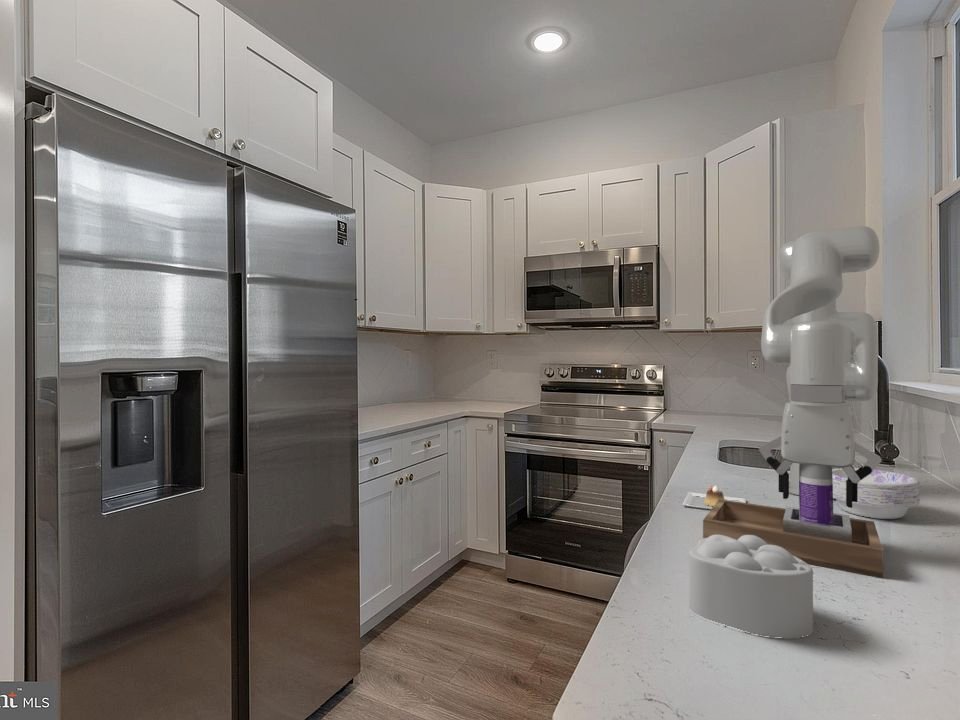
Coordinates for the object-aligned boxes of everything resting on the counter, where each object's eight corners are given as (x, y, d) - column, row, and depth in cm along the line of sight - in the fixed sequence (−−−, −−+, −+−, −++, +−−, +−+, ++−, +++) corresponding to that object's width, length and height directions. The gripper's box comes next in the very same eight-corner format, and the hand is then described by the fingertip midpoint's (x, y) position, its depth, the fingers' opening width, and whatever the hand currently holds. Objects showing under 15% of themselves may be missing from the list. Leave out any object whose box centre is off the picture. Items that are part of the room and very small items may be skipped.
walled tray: (719, 519, 99) (719, 499, 99) (873, 545, 85) (873, 521, 85) (703, 543, 86) (703, 520, 86) (882, 578, 72) (882, 550, 72)
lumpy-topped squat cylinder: (703, 585, 70) (703, 523, 70) (815, 613, 62) (816, 543, 62) (682, 615, 62) (683, 544, 62) (809, 652, 54) (809, 571, 54)
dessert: (688, 496, 118) (688, 476, 118) (746, 503, 112) (746, 482, 112) (682, 509, 107) (682, 487, 107) (745, 518, 102) (745, 494, 102)
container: (839, 549, 81) (837, 455, 81) (806, 547, 82) (805, 454, 82) (825, 540, 85) (824, 451, 86) (795, 538, 86) (793, 450, 87)
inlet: (786, 531, 90) (786, 506, 90) (849, 542, 84) (849, 515, 84) (783, 547, 82) (783, 519, 82) (851, 559, 77) (851, 530, 77)
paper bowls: (809, 507, 108) (809, 470, 108) (854, 499, 114) (854, 464, 114) (891, 529, 94) (891, 486, 94) (936, 519, 100) (936, 479, 100)
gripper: (881, 397, 82) (881, 504, 81) (759, 392, 91) (759, 489, 91) (886, 399, 75) (886, 516, 75) (754, 395, 85) (754, 498, 85)
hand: (816, 500), depth 83 cm, fingers open, 8 cm apart
